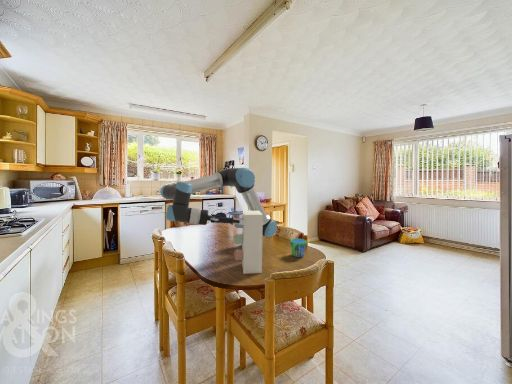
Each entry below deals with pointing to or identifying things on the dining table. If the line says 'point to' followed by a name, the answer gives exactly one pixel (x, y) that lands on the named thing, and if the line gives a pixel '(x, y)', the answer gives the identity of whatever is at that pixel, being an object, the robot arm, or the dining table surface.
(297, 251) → the snack cup
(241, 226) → the slate button
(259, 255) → the button pillar
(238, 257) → the terracotta button
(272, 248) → the dining table surface
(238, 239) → the sage button
